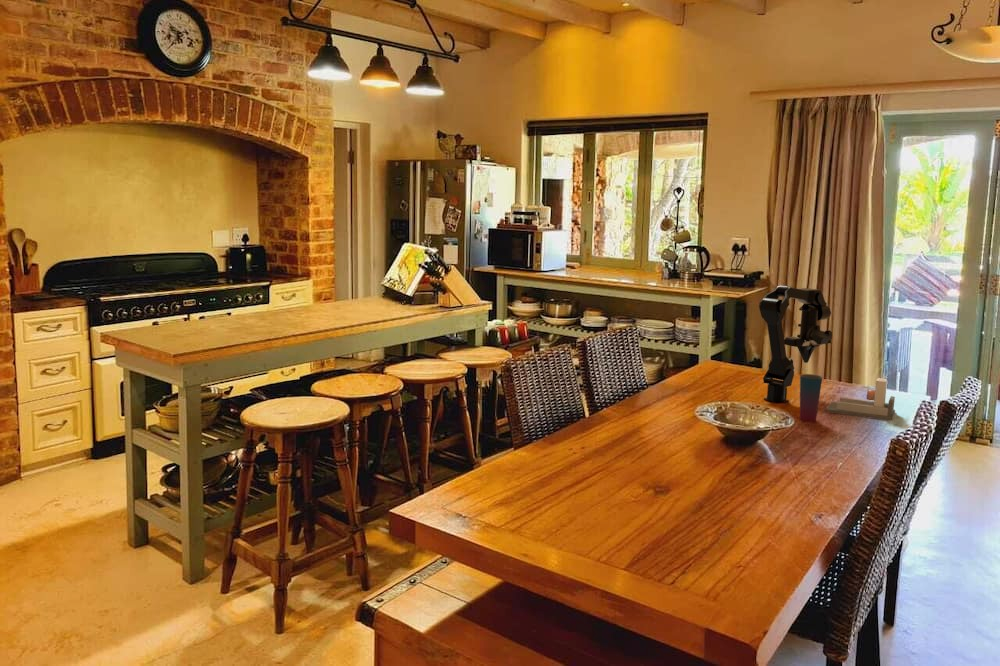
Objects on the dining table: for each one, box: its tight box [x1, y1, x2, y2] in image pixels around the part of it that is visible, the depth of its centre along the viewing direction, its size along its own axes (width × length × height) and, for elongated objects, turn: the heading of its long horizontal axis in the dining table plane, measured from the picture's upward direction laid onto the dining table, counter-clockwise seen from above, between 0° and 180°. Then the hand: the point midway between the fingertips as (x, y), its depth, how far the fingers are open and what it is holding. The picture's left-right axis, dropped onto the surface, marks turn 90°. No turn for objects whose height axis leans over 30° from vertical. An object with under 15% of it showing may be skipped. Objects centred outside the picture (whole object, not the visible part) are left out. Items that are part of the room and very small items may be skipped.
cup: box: [799, 373, 823, 423], centre depth 254 cm, size 7×7×15 cm
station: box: [825, 395, 896, 422], centre depth 264 cm, size 20×12×6 cm, turn 59°
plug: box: [866, 377, 888, 407], centre depth 261 cm, size 6×5×11 cm
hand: (805, 362), depth 288 cm, fingers closed
